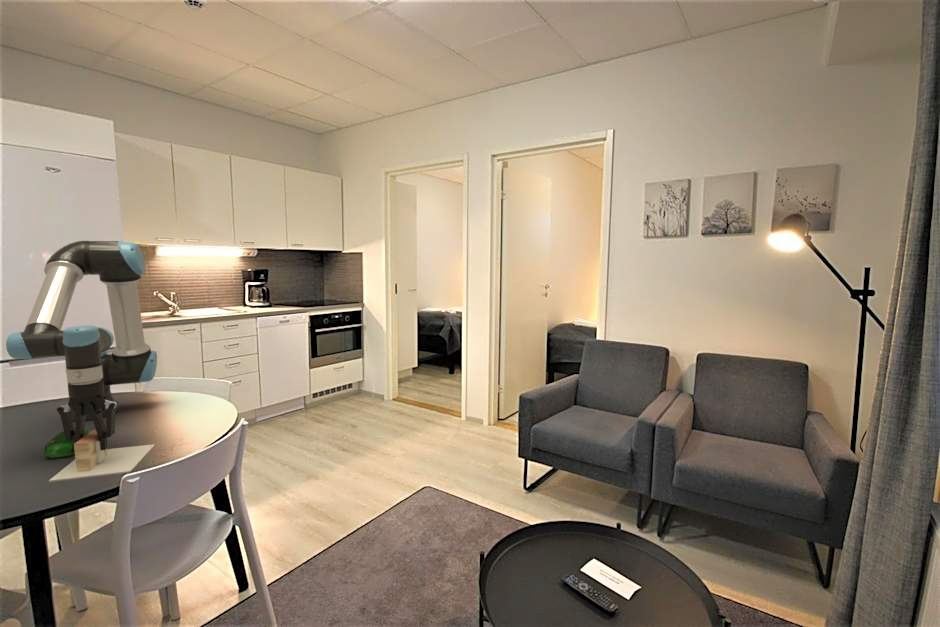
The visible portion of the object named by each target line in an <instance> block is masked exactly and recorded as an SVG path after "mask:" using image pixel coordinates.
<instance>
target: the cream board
mask: <svg viewBox="0 0 940 627" xmlns="http://www.w3.org/2000/svg"><path fill="white" fill-rule="evenodd" d="M155 445H156V444H145V445H135V446H125V447H116V448H115V447H114V448H107V453H108V455H107V456H106V457H105V459H104V460H103V461H102V462H101V463H98V464H97V465H96V466H95V467H94V468H93V469H91V470H90V471H82V472H77V468H76V459H75V458H74V459H73V460H72V461H71V462H70V463H69V464H68V465H66V466H64V467H63V469H61V470H60V471H59V472H58V473H57V474H55V475H54V476H52V477H51V478H50V479H49V480H48V482H49V483H52V482H60V481H67V480H68V481H69V480H76V479H84V478H93V477H105V476H110V475H119V474H128V473H132V472H131V471H132V470H133V469H134V468H135V467H137V465H138V464H139V463H140V462H141V461H142V460H143V459H144V458H145V456H147V454H148V453H149V452H150V451H151V450H152V449H153V447H155Z"/></svg>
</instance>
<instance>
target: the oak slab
mask: <svg viewBox="0 0 940 627" xmlns="http://www.w3.org/2000/svg"><path fill="white" fill-rule="evenodd" d="M98 439H99V438H98V435H97V432H96V429H93V430H91V431H89V432H88V434H87V435H85V436H84V437H83V438H81V439H80V440H79V441H77V442H76V443H75V444H74V450H75V453H74V457H75V458H74V460H75V459H76V468H77V472H82V471H90V470H91V469H93V468H94V467H95V466H96V465H97V464H98V463H97V453H96V442H95V441H96V440H98ZM107 449H108V448H107ZM107 449H106V450H104V451H105V457H106V456H107V455H108V453H107Z"/></svg>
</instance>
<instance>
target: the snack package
mask: <svg viewBox="0 0 940 627" xmlns="http://www.w3.org/2000/svg"><path fill="white" fill-rule="evenodd" d="M88 433H89V430H88V429H86V428H85V430H84V436H85V435H87V434H88ZM74 444H75V442H74V441H66V438H65V434H64V430H63V431H60V432H59V433H57V434H56V435H55V436H54V437H52V438H51V439H50V440H49V441H48V442H47V443H46V444H45V446H44V454H45V456H46V457H48V458H51V459H53V458H62V457H63V458H64V457H69V456H73V455H75V450H74Z"/></svg>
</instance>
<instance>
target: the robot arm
mask: <svg viewBox="0 0 940 627" xmlns="http://www.w3.org/2000/svg"><path fill="white" fill-rule="evenodd" d="M146 269H147V268H146V261H145V258H144V254H143V252H142V249H141V247H139V245H138V244H137V243H136V242H131V241H122V240H91V241H90V240H78V241H74V242H72V243H68V244H67V245H64V246H63V247H60V248H59V249H58V250H56V251H55V252H54V253H53V254H52V255H51V256H50V257H49V259H48V260H47V261H46V263H45V266H44V268H43V272H44V274H45V278H44V280H43V282H42V285H41V288H40V289H39V292H38V295H37V297H36V300H35V303H34V306H33V308H32V311H31V312H30V316H29V318H28V321H27V323H26V325H25V327H24V330H23V331H18V332H12V333H11V334H9V335H8V337H7V339H6V344H5V348H6V351H7V354H8V355H9V357H10V358H12V359H15V360H34V359H43V358H54V357H64V358H65V359H64V360H65V361H64V362H65V373H66V382H67V391H68V401H67V403H66V404H62V405H60V406H59V407H57V408H56V411H57V414H59V415H60V419H61V424H62V429H63V431H64V434H65V438H66V441H74V442H75V443H76V442H77V441H79V440H80V439H81V438H83V437H84V430H85V429H86V428H85V427H86V421H92V420H93V425H94V428H95V430H96V432H97V435H98V438H99V439H98V440H96V441H95V442H96V453H97V463H101V462H102V461H103V460H104V459H105V451H104V450H106V449H108V447H109V445H108V444H109V443H108V438H110V437H111V436H113V435H114V434H115V433H116V413H117V412H118V411H119V402H118V401H117V400H116V399H115V396H114V395H113V393H112V392H111V391H112V390H111V386H114V385H115V386H116V385H126V384H127V385H128V384H141V383H146V382H151V381H152V380H153V379H154V378H155V376H156V371H157V364H158V354H157V351H155V350H152V349H151V346H150V345H149V344H148V343H146V342H145V335H144V334H145V333H144V329H143V320H142V313H141V312H142V311H141V305H140V298H139V292H138V283H139V281H140V280H141V279H142V275H145V273H146ZM87 275H88V276H89V275H92V276H93V275H94V276H99V281H100V282H101V283H103V284H105V285H106V291H107V297H108V303H109V310H110V314H111V315H110V316H111V322H112V329H113V333H112V332H111V331H110V330H109V329H108V328H105V327H98V326H95V325H78V326H69V327H66V328H64V329H63V330H61V329H62V327H63V324H64V322H65V318H66V316H67V312H68V310H69V307H70V304H71V301H72V298H73V295H74V292H75V289H76V286H77V283H79V282H80V281H82V279H83V278H84V276H87ZM114 342H115V347H114V348H113V349H112V350H111V353H109V352H107V351H108V350H109V349H110V348H111V346H112V345H113V344H114ZM108 353H109V354H108ZM104 418H106V419H105V420H106V422H105V420H104ZM74 422H75V426H74Z"/></svg>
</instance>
